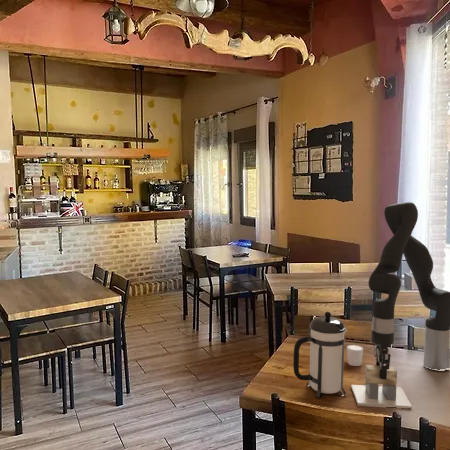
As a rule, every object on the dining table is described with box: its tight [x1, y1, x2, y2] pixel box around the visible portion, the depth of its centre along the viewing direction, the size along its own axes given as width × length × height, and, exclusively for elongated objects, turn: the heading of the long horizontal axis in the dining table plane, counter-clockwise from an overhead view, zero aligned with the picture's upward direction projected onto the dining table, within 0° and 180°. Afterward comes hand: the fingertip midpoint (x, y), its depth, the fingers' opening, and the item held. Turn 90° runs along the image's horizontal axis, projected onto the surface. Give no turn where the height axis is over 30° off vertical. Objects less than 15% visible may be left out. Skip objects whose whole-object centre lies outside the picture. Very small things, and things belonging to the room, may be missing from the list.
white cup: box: [346, 344, 364, 367], centre depth 188 cm, size 7×7×7 cm
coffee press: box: [292, 311, 348, 399], centre depth 161 cm, size 17×16×30 cm
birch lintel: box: [364, 364, 398, 386], centre depth 157 cm, size 10×4×5 cm, turn 81°
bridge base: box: [350, 380, 413, 409], centre depth 158 cm, size 18×14×6 cm
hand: (381, 374), depth 157 cm, fingers open, 5 cm apart
